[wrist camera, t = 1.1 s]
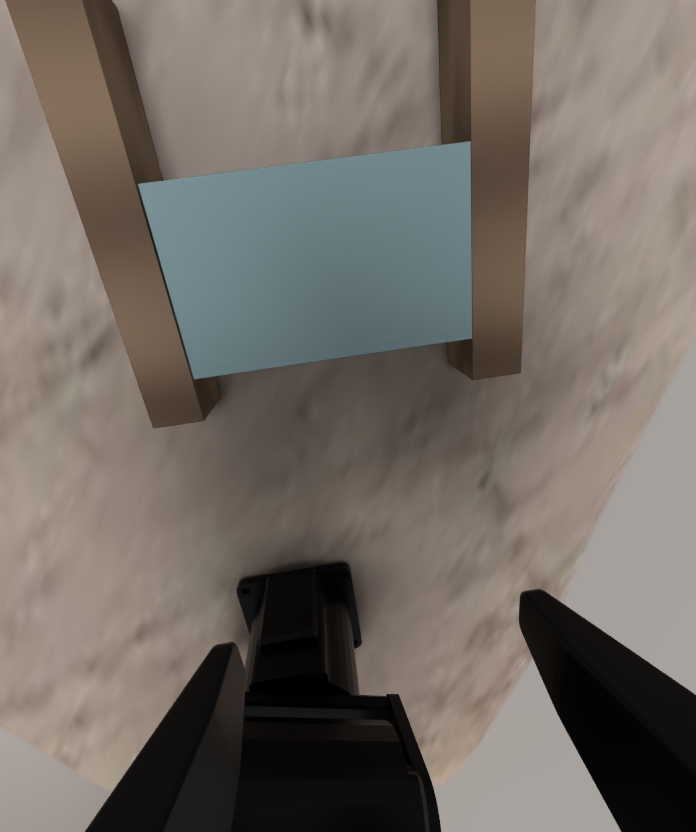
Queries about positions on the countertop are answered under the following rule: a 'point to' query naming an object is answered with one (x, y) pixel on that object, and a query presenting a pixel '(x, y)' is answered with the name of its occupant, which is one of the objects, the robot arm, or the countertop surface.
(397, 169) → the slate-blue block
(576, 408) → the countertop surface
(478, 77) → the walnut chute
